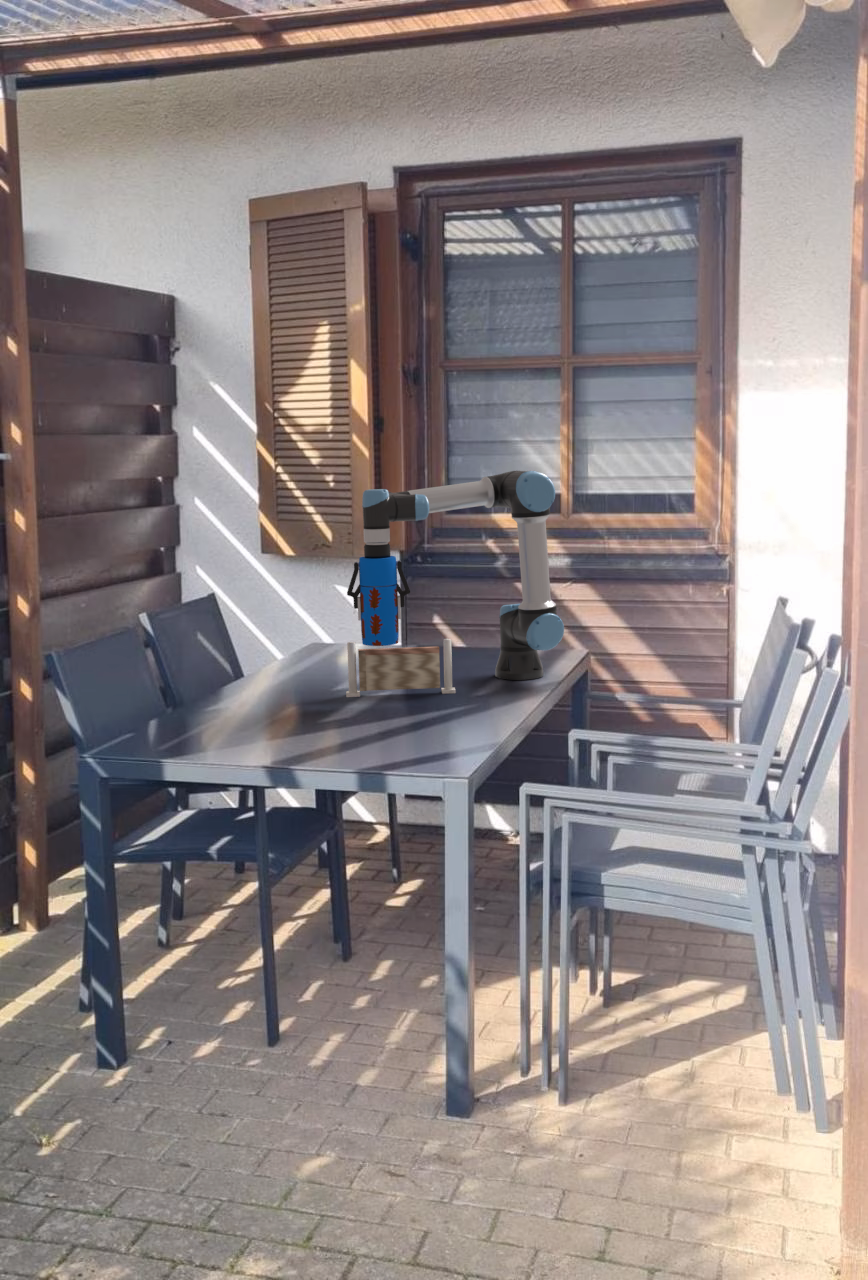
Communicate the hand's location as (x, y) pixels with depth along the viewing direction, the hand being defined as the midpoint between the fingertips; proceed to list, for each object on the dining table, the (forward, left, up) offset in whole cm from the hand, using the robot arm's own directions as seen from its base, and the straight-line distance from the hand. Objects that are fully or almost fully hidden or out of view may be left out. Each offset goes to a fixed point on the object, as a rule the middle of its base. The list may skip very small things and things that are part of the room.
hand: (379, 619), depth 400 cm
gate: (-6, -8, -22) cm, 24 cm away
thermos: (0, 0, -7) cm, 7 cm away
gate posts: (-6, -8, -24) cm, 26 cm away
